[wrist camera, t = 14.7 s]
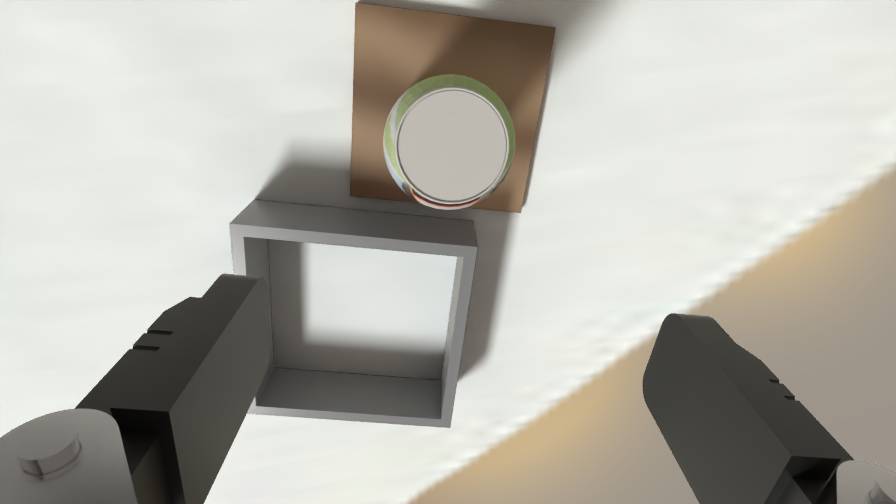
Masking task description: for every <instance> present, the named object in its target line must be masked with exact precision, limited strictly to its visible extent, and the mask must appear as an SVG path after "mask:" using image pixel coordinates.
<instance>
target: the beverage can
mask: <svg viewBox="0 0 896 504" xmlns="http://www.w3.org/2000/svg"><path fill="white" fill-rule="evenodd" d="M383 148H384V156H385V160H386V164H387V167H388V169H389V171H390V173H391V175H392V177H393V179H394V180H395V182H396V183H397V184H398V186H399V187H400V188H401V189H402V190H403V191H404V192H405V193H406V194H407V195H408V196H410V197H411V198H413V199H414V200H415V201H417V202H419V203H421V204H423V205H426V206H429V207H432V208H436V209H444V210H453V209H461V208H465V207H470V206H472V205H474V204H476V203H479V202H481V201H482V200H484V199H485V198H487V197H488V196H490V195H491V194H492V193H493V192H494V191H495V190H496V189H497V188H498V187H499V186H500V184H501V183H502V182H503V180H504V179H505V177H506V175H507V173H508V172H509V170H510V167H511V164H512V161H513V158H514V151H515V132H514V126H513V122H512V119H511V117H510V114H509V112H508V110H507V108H506V106H505V105H504V103H503V102H502V100H501V99H500V98H499V97H498V96H497V94H496V93H495V92H493V91H492V90H491V89H490V88H489V87H487V86H486V85H484V84H483V83H481V82H479V81H477V80H475V79H472V78H469V77H466V76H462V75H454V74H447V75H438V76H433V77H429V78H427V79H424V80H422V81H420V82H418V83H416V84H415V85H413V86H412V87H410V88H409V89H408V90H407V91H406V92H405V93H404V94H403V95H402V96H401V97H400V98H399V99H398V100H397V102H396V103H395V105H394V106H393V107H392V109H391V111H390V114H389V116H388V118H387V121H386V125H385V129H384V136H383Z"/></svg>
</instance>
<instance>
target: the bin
mask: <svg viewBox="0 0 896 504" xmlns="http://www.w3.org/2000/svg"><path fill="white" fill-rule="evenodd" d="M229 225H230V236H231V248H232V259H233V271H234V275H244V276H256V277H264V278H265V280H266V282H267V287H268V302H269V319H270V337H271V351H270V359H269V364H268V368H267V371H266V374H265V376H264V378H263V380H262V383H261V385H260V387H259V389H258V391H257V393H256V395H255V397H254V399H253V401H252V403H251V406H250V408H249V410H248V412H247V414H260V415H274V416H289V417H303V418H317V419H331V420H346V421H360V422H374V423H388V424H403V425H417V426H431V427H445V428H450V426H451V419H452V412H453V406H454V399H455V393H456V386H457V380H458V373H459V367H460V360H461V354H462V347H463V340H464V334H465V327H466V321H467V314H468V308H469V301H470V295H471V288H472V281H473V275H474V268H475V262H476V255H477V249H478V246H477V240H476V234H475V229H474V223H473V221H468V220H458V219H447V218H437V217H427V216H417V215H407V214H396V213H386V212H376V211H366V210H356V209H346V208H335V207H325V206H315V205H305V204H295V203H284V202H274V201H264V200H253V201H252V202H251V203H250V204H249V205H248V206H247V207H246V208H245V209H244V210H243V211H242V212H241V213H240V214H239V215H238V216H237V217H236V218H235V219H234V220H233V221H232V222H231V223H230V224H229ZM268 239H275V240H286V241H296V242H307V243H318V244H328V245H339V246H350V247H361V248H371V249H382V250H393V251H404V252H414V253H425V254H436V255H447V256H457V263H456V270H455V278H454V285H453V293H452V300H451V308H450V315H449V323H448V330H447V337H446V345H445V352H444V360H443V367H442V375H441V380H429V379H416V378H403V377H390V376H377V375H364V374H351V373H338V372H325V371H312V370H299V369H285V368H274V355H273V335H272V315H271V296H270V276H269V256H268Z"/></svg>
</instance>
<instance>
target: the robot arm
mask: <svg viewBox="0 0 896 504" xmlns="http://www.w3.org/2000/svg"><path fill="white" fill-rule="evenodd" d="M270 351H271V337H270V319H269V302H268V287H267V282H266V280H265V278H264V277H256V276H244V275H233V274H222V275H220V276H219V278H218V279H217V280H216V281H215V282H214V283H213V285H212V286H211V287H210V288H209V289H208V291H207V292H206V293H205V294H204V295H203V297H202V298H196V297H189V298H187V299H185V300H184V301H182V302H180V303H178V304H176V305H175V306H173V307H171V308H169V309H168V310H166V311H164V312H163V313H162V314H161V315H160V317H159V318H158V319H157V320H156V321H155V322H154V323H153V324H152V325H151V326H150V327H149V328H148V331H147V333H144V334H143V335H142V336H141V337H140V338H139V339H138V340H137V341H136V343H135V344H134V345H133V349H129V350H128V351H127V352H126V353H125V354H124V356H123V357H122V358H121V359H120V360H119V361H118V362H117V363H116V364H115V365H114V366H113V367H112V369H111V370H110V371H109V372H108V373H107V374H106V375H105V376H104V377H103V378H102V379H101V380H100V382H99V383H98V384H97V385H96V386H95V387H94V388H93V389H92V390H91V391H90V392H89V393H88V395H87V396H86V397H85V398H84V399H83V400H82V401H81V402H80V403H79V404H78V405H77V406H76V408H75V409H69V410H63V411H58V412H54V413H50V414H47V415H44V416H41V417H38V418H35V419H33V420H31V421H29V422H26V423H24V424H22V425H20V426H18V427H17V428H15V429H13V430H11V431H10V432H8V433H7V434H5V435H4V436H2V437H1V438H0V504H204V502H205V499H206V497H207V495H208V493H209V491H210V489H211V487H212V485H213V483H214V481H215V479H216V477H217V474H218V472H219V470H220V468H221V466H222V464H223V462H224V460H225V458H226V456H227V454H228V451H229V449H230V447H231V445H232V443H233V441H234V439H235V437H236V435H237V433H238V431H239V428H240V426H241V424H242V422H243V420H244V418H245V416H246V414H247V412H248V410H249V408H250V406H251V403H252V401H253V399H254V397H255V395H256V393H257V391H258V389H259V387H260V385H261V383H262V380H263V378H264V376H265V374H266V371H267V368H268V364H269V359H270ZM643 394H644V399H645V402H646V404H647V406H648V408H649V410H650V412H651V414H652V416H653V418H654V419H655V421H656V423H657V425H658V427H659V429H660V431H661V433H662V434H663V436H664V438H665V440H666V442H667V444H668V446H669V447H670V449H671V451H672V453H673V455H674V457H675V459H676V460H677V462H678V464H679V466H680V468H681V470H682V472H683V473H684V475H685V477H686V479H687V481H688V483H689V485H690V487H691V488H692V490H693V492H694V494H695V496H696V498H697V500H698V501H699V503H700V504H896V472H895V471H893V470H891V469H888V468H886V467H884V466H881V465H877V464H875V463H870V462H866V461H859V460H854V459H853V458H852V457H851V456H850V455H849V454H848V453H847V452H846V451H845V449H844V448H843V447H842V446H841V445H840V444H839V443H838V442H837V441H836V440H835V439H834V438H833V437H832V436H831V435H830V433H829V432H828V431H827V430H826V429H825V428H824V427H823V426H822V425H821V424H820V423H819V422H818V421H817V420H816V419H815V417H813V415H812V414H811V413H810V412H809V411H808V410H807V409H806V408H805V407H804V406H803V405H802V404H801V403H800V401H795V398H794V397H795V396H794V395H793V394H792V393H791V392H790V391H789V390H788V389H787V388H786V387H785V386H784V384H780V383H779V379H778V378H777V377H776V376H775V375H774V374H773V373H772V372H771V371H770V370H769V368H768V367H767V366H766V365H765V364H764V363H763V362H762V361H761V360H760V359H758V358H757V357H755V356H754V355H752V354H751V353H749V352H748V351H746V350H745V349H744V348H742V347H741V346H739V345H738V344H736V343H735V342H734V341H733V340H732V339H731V337H729V335H728V334H727V333H726V332H725V331H724V330H723V329H722V328H721V326H720V325H719V324H718V323H717V322H716V321H715V320H714V319H713V318H711V317H708V316H698V315H686V314H675V313H673V314H669V315H668V316H667V317H666V318H665V319H664V321H663V323H662V326H661V328H660V331H659V334H658V337H657V339H656V342H655V345H654V348H653V351H652V353H651V356H650V359H649V362H648V364H647V367H646V370H645V373H644V377H643Z"/></svg>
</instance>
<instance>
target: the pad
mask: <svg viewBox="0 0 896 504" xmlns="http://www.w3.org/2000/svg"><path fill="white" fill-rule="evenodd" d="M554 33H555V27H547V26H539V25H531V24H523V23H515V22H507V21H499V20H491V19H483V18H475V17H468V16H460V15H452V14H444V13H436V12H428V11H420V10H412V9H404V8H396V7H388V6H380V5H372V4H364V3H356V5H355V42H354V78H353V114H352V150H351V187H350V196H356V197H366V198H376V199H387V200H397V201H407V202H417V201H415V200H414V199H413V198H411V197H410V196H408V195H407V194H406V193H405V192H404V191H403V190H402V189H401V188H400V187H399V186H398V184H397V183H396V182H395V180H394V179H393V177H392V175H391V173H390V171H389V169H388V167H387V164H386V160H385V156H384V148H383V136H384V129H385V125H386V121H387V118H388V116H389V114H390V111H391V109H392V107H393V106H394V105H395V103H396V102H397V100H398V99H399V98H400V97H401V96H402V95H403V94H404V93H405V92H406V91H407V90H408V89H409V88H410V87H412V86H413V85H415V84H416V83H418V82H420V81H422V80H424V79H427V78H429V77H433V76H438V75H447V74H454V75H462V76H466V77H469V78H472V79H475V80H477V81H479V82H481V83H483V84H484V85H486V86H487V87H489V88H490V89H491V90H492V91H493V92H495V93H496V94H497V96H498V97H499V98H500V99H501V100H502V102H503V103H504V105H505V106H506V108H507V110H508V112H509V114H510V117H511V119H512V122H513V126H514V132H515V151H514V158H513V161H512V164H511V167H510V170H509V172H508V173H507V175H506V177H505V179H504V180H503V182H502V183H501V184H500V186H499V187H498V188H497V189H496V190H495V191H494V192H493V193H492V194H491V195H490V196H488V197H487V198H485V199H484V200H482V201H481V202H479V203H476V204H474V205H472V206H470V207H467V208H477V209H487V210H497V211H507V212H517V213H521V209H522V203H523V198H524V193H525V187H526V182H527V177H528V172H529V166H530V161H531V156H532V150H533V145H534V140H535V134H536V129H537V124H538V118H539V113H540V108H541V102H542V97H543V92H544V86H545V81H546V76H547V71H548V65H549V60H550V55H551V49H552V44H553V39H554ZM417 203H419V202H417Z"/></svg>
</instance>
